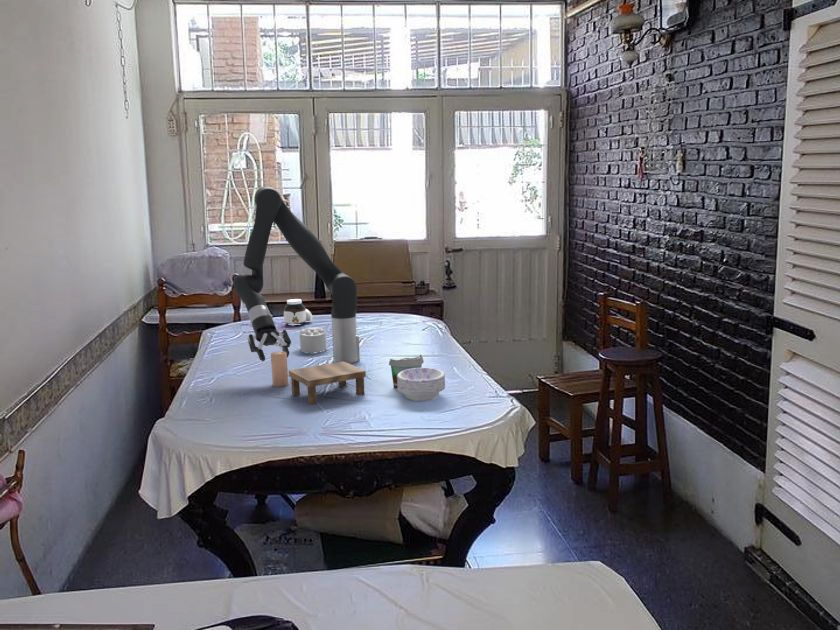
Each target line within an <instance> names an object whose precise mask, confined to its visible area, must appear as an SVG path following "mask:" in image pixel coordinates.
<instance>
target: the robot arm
mask: <svg viewBox="0 0 840 630" xmlns="http://www.w3.org/2000/svg"><path fill="white" fill-rule="evenodd" d="M253 198H254V199H253V200H254V204H255V215H254V216H255V218H254V221H253V222H254V223H253V226H252V230H251V233H250V237H249V239H248V242H247V246H246V249H245V254H244V257H243V258H244V259H243V263H242V264H243V266H244V267H245V268H247V269H248V270H251V274H247V273H245V274H244V273H238V274H237V275H236V276H235V277H234V279H233V288H234V291H235V293H236V294H237V296H238V297H239V298H240V300H241V302H242V303H243V304H244V305H245V308H246V311H247V314H248V317H249V321H250V324H251V327H252V329H253V330H252V331H253V332H254V334H255V335H254V334H251V333H250V334H248V337H247V342H248V346H249V349H250V352H251V353H257V357H258V358H259V360H260V361H261V362H265V360H266V356H265V353H264V349H262V348H263V346H265V347H268V346H276V347H279V348H280V349H282V350H281V351H282V352H287V359H288V358H289V356H290V350H289V348H290V346H291V344H292V341H291V338H290V336H289V334H288V332H287V330H286V329H283V330H282V331H278V330H277V327H276V325H275V322H274V319H273V316H272V314H271V312H270V309H269V308H268V306H267V302H266V299H265V297H264V296H263V295H262V294H260V293H261V292H262V291H263V289H264V263H265V259H266V253H267V249H268V245H269V241H270V240H269V239H270V235H271V232H272V227H273V225H274V224H275V225H276V227H277V228H278V229H279V231H280V232H281V234H282V235H283V237H284V239H285V240H286V242H287V243H288V244H289V245H290V247H291V248H292V249H293V251H294V252H295V253H296V254H297V255H298V257H300V258H301V260H302V261H303V262H305V264H306V265H308V266H309V267H310V268H311V269H312V270H313V271H314V272H315V273H316V274H317V276H318V277H319V278H320V279H321V280H322V282H323V284H324V285H325V287H326V288H327V290H328V291H329V292H330V294H331V296H332V308H331V311H330V312H331V313H330V315H331V317H330V318H331V335H332V336H331V337H332V357H333V363H336V362H342V361H344V362H346V363H349V364H351V363H356V362H358V361H361V358H360V356H361V355H360V354H361V353H360V337H359V335H357V309H358V293H357V292H358V290H357V283H356V281H355V279H354V278H353V277H351V276H349V275H347V274H345V273H344V272H343V271H342V270H341V269H340V268H339V267H338V266H337V265H336V264H335V263H334V262H333V260H332V259H331V257H330V256H329V254H328V252H327V251H326V249H325V247H324V246H323V244H322V242H321V241H320V240H319V238H318V237H317V236H316V235H315V234H314V233H313V232H312V230H310V229H309V227H308V226H306V225H305V223H304V222H302V220H300V218H298V217H297V216H296V215H295V214H294V213H293V212H292V211H291V210H290V208H289V207H288V206H287V205H286V203H285V201H284V200H283V198H282V196H281V194H280V192H279V191H278V190H277V189H276V188H274V187H272V186H268V185H264V186H261V187H259V188H258V189H257V190H256V192H255V194H254V197H253ZM256 341H257V342H259V344H258V346H257V345H256V343H255V342H256Z"/></svg>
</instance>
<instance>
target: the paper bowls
mask: <svg viewBox="0 0 840 630" xmlns="http://www.w3.org/2000/svg"><path fill="white" fill-rule="evenodd" d="M445 375H446V374H445V372H444V371H443V370H441V369H437V368H433V367H421V368H412V369H407V370H403V371H401V372H399V373H398V375H397V383H398V389H397V391H398V392H399V393H402V394H404V397H405V398H406V399H408V400H409V401H414V402H427V401H432V400H434V399H437V397H438V396H439V394H440V393H441V392H442V391H443V390H445V388H446V376H445Z"/></svg>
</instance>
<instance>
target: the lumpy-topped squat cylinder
mask: <svg viewBox="0 0 840 630" xmlns="http://www.w3.org/2000/svg"><path fill="white" fill-rule="evenodd" d="M326 336H327V335H326V330H325V329H324V328H322V327H318V326H317V327H306V328H305V329H304V328H302V329H301V330H300V331H299V343H300V344H299V345H300V347H299V348H300V352H301V351H303V352H308V353H314V352H320V351H323V350H325V349H326V350H327V337H326ZM303 352H302V353H303ZM323 352H324V351H323ZM308 353H307V354H308ZM320 353H321V352H320ZM314 354H315V353H314Z"/></svg>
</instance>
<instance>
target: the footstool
mask: <svg viewBox="0 0 840 630" xmlns="http://www.w3.org/2000/svg"><path fill="white" fill-rule="evenodd" d="M366 373H367V372H366V370H364V369H362V368H360V367H357V366H356V365H353V364H351V363H346V362H344V361H342V362H336V363H335V362H332V363H330V362H329V363H326V364H319V365H314V366H308V367H303V368H302V367H301V368H295V369H290V370H288V378H290V384H291V395H293V396H298V395H301V390H300V389H301V388H300V386H301V385H300V384H303V385H305V386H306V387H307V404H309V405H310V406H313V405H317V404H318V403H317V402H318V401H317V386H323V385H329V384H334V383H337V384H338V387H341V388H343V387H346V386H347V381H351V380H355V394H356V395H357V396H358V397H359V396H364V395H365V378H366V377H367V374H366Z"/></svg>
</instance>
